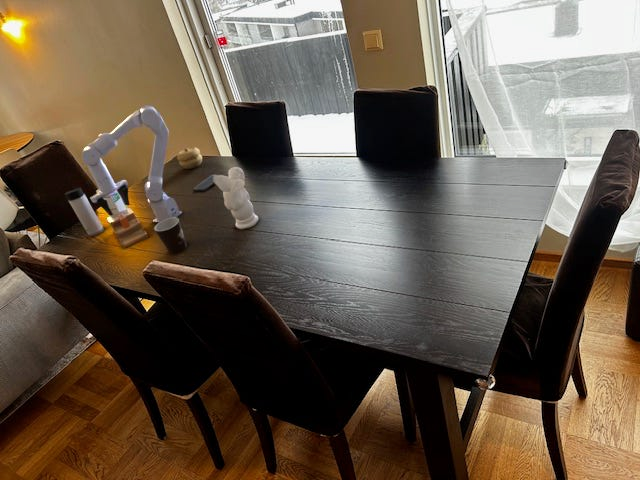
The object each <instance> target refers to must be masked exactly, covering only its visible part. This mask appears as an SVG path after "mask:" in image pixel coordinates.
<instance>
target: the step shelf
mask: <svg viewBox="0 0 640 480" xmlns="http://www.w3.org/2000/svg"><path fill="white" fill-rule="evenodd" d="M121 213H122V214H124V215H125V217H126V218H127V220H128V222H129V224H130V227H128V228H126V229H124V227H123V226H122V224H121V222H120V220H119V218H118V215H119V216H121V215H122V214H121ZM106 220H107V221H108V223H109V225H110V227H111V229H112V231H113V232H114V234H115V235H116V238H117V239H118V241H119V243H120V244H121V246H122V248H123V249H126V248H128V247H130V246H133V245H134V244H135V245H136V243H138V242H141V241H144V240H145V239H147V238H149V235H148V233H147V231H145V229H144V227H143V226H142V224H141V222H140V221H139V219H138V218H137V216H136V214H135V212H134V210H132V208H131V207H129V208H128V209H126V210H124V211H122V212H119V213H117V214H115V215H113V216H110V215H109V216H108V217H106Z"/></svg>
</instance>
